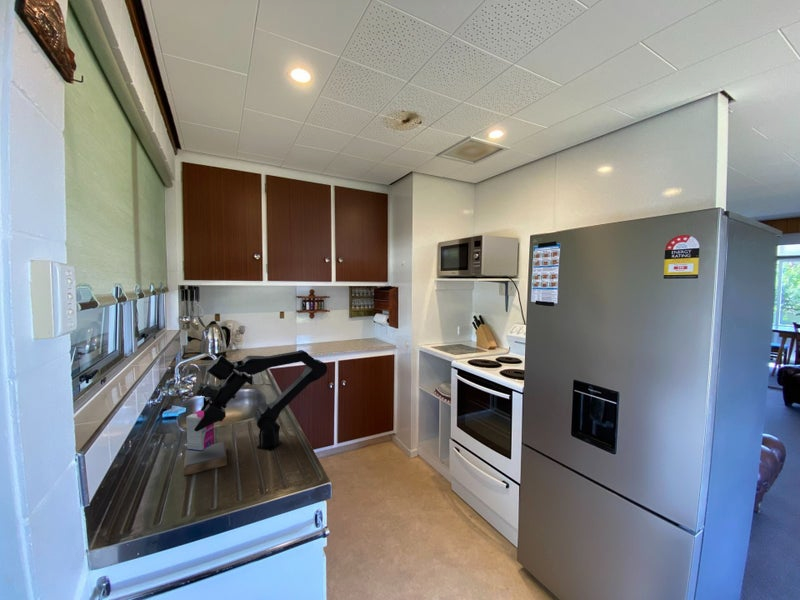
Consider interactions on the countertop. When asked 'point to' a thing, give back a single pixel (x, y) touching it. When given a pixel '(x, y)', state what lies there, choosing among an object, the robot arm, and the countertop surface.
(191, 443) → the supplement box
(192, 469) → the walnut base
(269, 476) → the countertop surface
